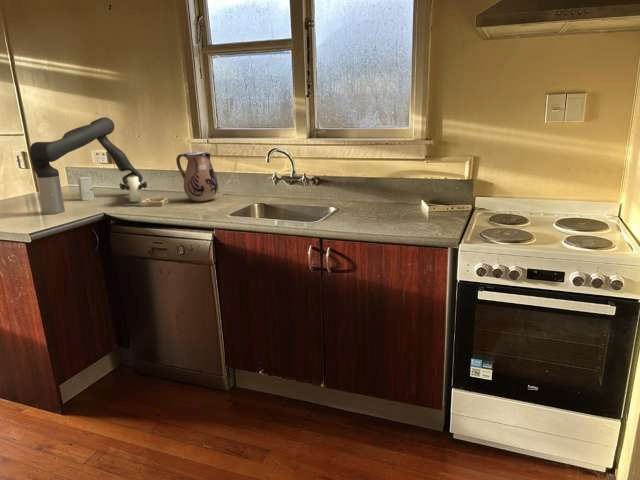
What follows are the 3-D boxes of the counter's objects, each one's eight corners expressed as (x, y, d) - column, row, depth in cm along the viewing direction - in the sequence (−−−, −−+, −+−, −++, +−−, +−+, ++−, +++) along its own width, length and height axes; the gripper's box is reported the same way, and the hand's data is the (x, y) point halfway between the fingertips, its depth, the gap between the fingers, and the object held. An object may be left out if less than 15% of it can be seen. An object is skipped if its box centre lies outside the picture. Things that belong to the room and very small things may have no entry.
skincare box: (83, 200, 256) (79, 178, 253) (80, 199, 259) (76, 177, 256) (94, 199, 260) (91, 177, 257) (91, 198, 263) (88, 176, 260)
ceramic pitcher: (214, 203, 244) (210, 154, 237) (174, 203, 245) (169, 154, 238) (222, 197, 261) (218, 151, 254) (184, 197, 261) (179, 151, 255)
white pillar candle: (138, 201, 241) (135, 177, 237) (128, 201, 241) (125, 177, 237) (142, 199, 246) (139, 175, 242) (132, 199, 246) (129, 176, 242)
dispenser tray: (162, 206, 238) (161, 201, 237) (140, 206, 238) (140, 202, 238) (169, 202, 249) (168, 198, 248) (148, 202, 249) (148, 198, 248)
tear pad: (140, 206, 239) (140, 204, 239) (123, 206, 239) (123, 204, 239) (148, 202, 248) (147, 201, 248) (131, 202, 249) (130, 201, 248)
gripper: (117, 177, 250) (117, 181, 235) (146, 175, 256) (148, 179, 240) (119, 191, 252) (119, 196, 237) (148, 188, 258) (149, 194, 243)
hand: (134, 187), depth 239 cm, fingers closed on white pillar candle, 5 cm apart
